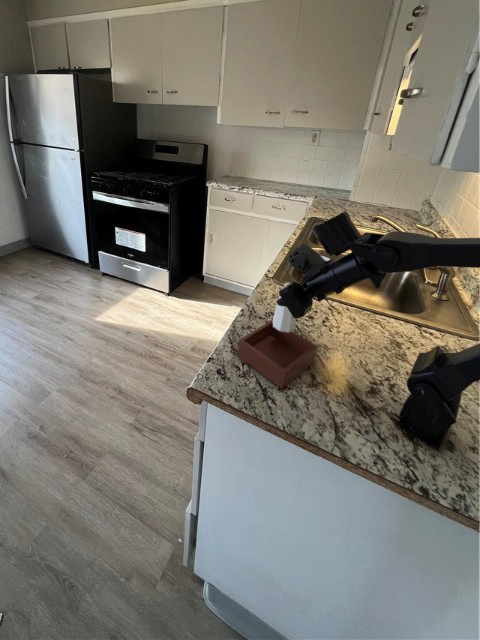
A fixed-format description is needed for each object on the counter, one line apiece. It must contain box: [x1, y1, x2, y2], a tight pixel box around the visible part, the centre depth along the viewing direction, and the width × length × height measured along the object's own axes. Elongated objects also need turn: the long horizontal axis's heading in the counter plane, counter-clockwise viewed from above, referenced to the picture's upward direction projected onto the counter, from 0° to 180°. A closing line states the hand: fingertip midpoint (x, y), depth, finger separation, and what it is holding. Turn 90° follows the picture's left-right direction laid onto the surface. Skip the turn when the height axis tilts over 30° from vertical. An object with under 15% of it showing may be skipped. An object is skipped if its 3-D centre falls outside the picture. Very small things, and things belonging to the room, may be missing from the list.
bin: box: [236, 318, 319, 390], centre depth 72 cm, size 13×13×5 cm
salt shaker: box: [272, 282, 297, 333], centre depth 71 cm, size 5×5×11 cm
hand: (282, 299), depth 72 cm, fingers closed on salt shaker, 4 cm apart
